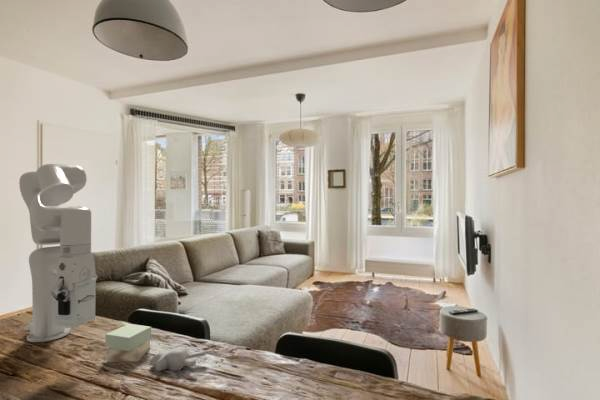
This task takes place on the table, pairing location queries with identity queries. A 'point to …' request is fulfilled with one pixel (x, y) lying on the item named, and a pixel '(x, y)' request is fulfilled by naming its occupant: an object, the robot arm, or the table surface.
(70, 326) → the supplement box
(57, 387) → the table surface
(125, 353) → the block bottom
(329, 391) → the table surface
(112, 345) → the block top
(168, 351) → the bunny figurine
